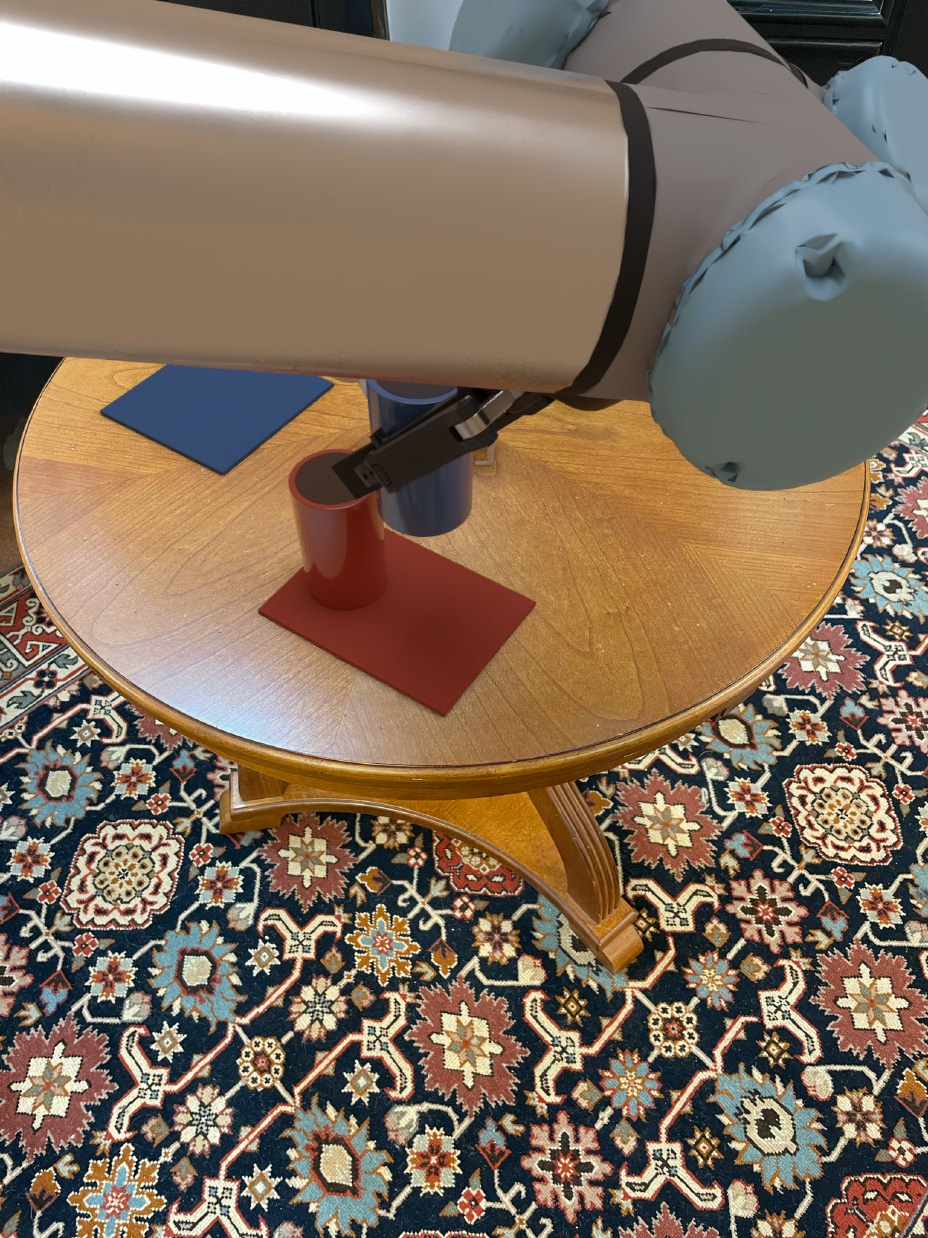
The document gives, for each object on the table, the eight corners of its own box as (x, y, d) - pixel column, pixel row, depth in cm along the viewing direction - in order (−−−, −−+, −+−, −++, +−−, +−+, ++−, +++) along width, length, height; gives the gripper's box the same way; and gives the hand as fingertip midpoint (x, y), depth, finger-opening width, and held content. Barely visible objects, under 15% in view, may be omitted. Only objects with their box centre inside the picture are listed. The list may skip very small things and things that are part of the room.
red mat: (258, 612, 76) (257, 609, 76) (358, 517, 83) (357, 514, 83) (444, 717, 70) (444, 714, 69) (536, 604, 77) (536, 601, 76)
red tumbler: (290, 587, 77) (268, 485, 69) (341, 539, 81) (326, 436, 72) (354, 622, 75) (340, 521, 66) (404, 571, 78) (397, 469, 70)
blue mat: (100, 413, 92) (99, 410, 92) (215, 334, 101) (214, 330, 100) (223, 475, 86) (222, 472, 86) (334, 385, 95) (333, 382, 95)
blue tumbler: (357, 512, 66) (342, 377, 57) (414, 459, 69) (407, 325, 61) (436, 551, 63) (432, 417, 55) (490, 494, 67) (495, 360, 58)
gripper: (567, 488, 43) (323, 581, 61) (743, 290, 53) (490, 420, 71) (469, 346, 40) (247, 487, 59) (673, 169, 51) (430, 335, 69)
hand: (380, 450), depth 65 cm, fingers closed on blue tumbler, 7 cm apart
